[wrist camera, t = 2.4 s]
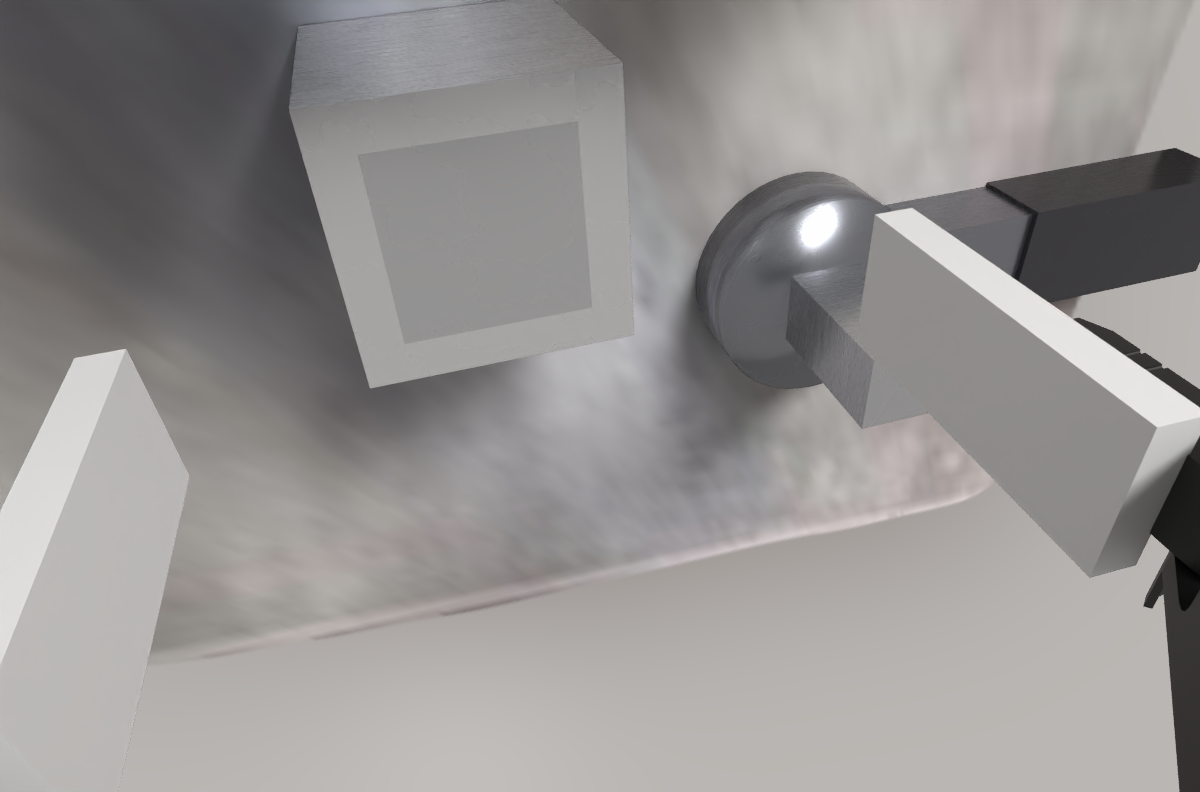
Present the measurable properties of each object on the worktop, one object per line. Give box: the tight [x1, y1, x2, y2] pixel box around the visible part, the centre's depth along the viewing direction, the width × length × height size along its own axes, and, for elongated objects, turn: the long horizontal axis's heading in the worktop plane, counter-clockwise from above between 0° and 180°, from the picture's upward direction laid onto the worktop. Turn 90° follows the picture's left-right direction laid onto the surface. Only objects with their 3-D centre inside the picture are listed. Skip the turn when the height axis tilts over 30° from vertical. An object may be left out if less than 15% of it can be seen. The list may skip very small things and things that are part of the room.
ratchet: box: [696, 148, 1200, 429], centre depth 27 cm, size 19×7×8 cm, turn 93°
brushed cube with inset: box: [289, 0, 634, 388], centre depth 20 cm, size 6×6×7 cm
